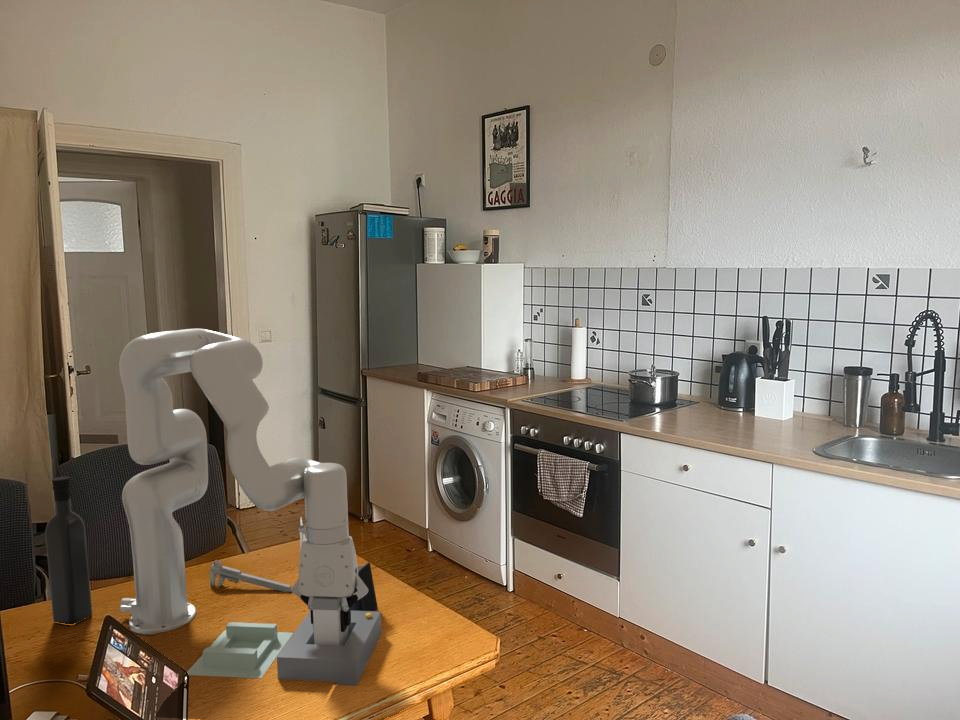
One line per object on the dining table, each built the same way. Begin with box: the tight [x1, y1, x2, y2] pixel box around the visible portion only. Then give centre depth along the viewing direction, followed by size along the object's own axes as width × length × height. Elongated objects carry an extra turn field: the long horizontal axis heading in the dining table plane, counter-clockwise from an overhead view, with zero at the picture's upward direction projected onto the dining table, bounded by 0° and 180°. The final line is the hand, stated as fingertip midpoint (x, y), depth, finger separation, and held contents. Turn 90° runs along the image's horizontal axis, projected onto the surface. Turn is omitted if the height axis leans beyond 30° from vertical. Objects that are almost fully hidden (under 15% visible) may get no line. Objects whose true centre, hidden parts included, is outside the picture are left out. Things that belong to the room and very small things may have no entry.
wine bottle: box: [44, 475, 93, 624], centre depth 150 cm, size 6×6×30 cm
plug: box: [312, 597, 348, 646], centre depth 135 cm, size 4×6×10 cm
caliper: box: [209, 559, 292, 593], centre depth 166 cm, size 20×1×6 cm, turn 79°
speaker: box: [351, 561, 379, 611], centre depth 154 cm, size 8×6×10 cm
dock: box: [276, 610, 382, 687], centre depth 136 cm, size 14×18×5 cm
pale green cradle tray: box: [187, 621, 294, 679], centre depth 137 cm, size 14×16×4 cm
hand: (331, 626), depth 136 cm, fingers closed on plug, 4 cm apart
